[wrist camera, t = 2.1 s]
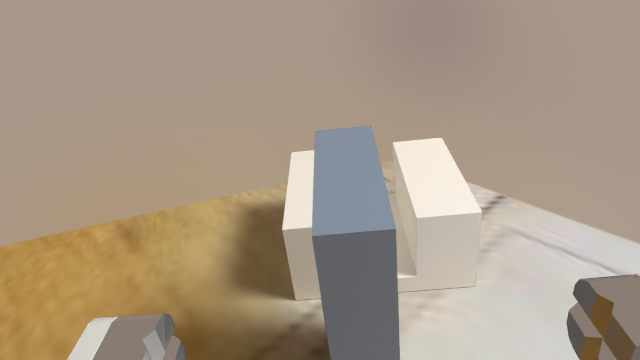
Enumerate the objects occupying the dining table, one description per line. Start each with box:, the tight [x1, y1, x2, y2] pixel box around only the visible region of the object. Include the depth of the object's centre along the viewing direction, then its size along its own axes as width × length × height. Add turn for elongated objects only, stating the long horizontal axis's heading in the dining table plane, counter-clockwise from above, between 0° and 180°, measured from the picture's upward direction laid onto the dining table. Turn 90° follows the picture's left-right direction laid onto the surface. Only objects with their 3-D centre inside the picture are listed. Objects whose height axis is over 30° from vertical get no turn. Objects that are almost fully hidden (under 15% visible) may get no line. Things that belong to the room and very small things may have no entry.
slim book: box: [312, 125, 400, 360], centre depth 24 cm, size 3×9×16 cm, turn 0°
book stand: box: [282, 138, 482, 300], centre depth 38 cm, size 14×12×7 cm
